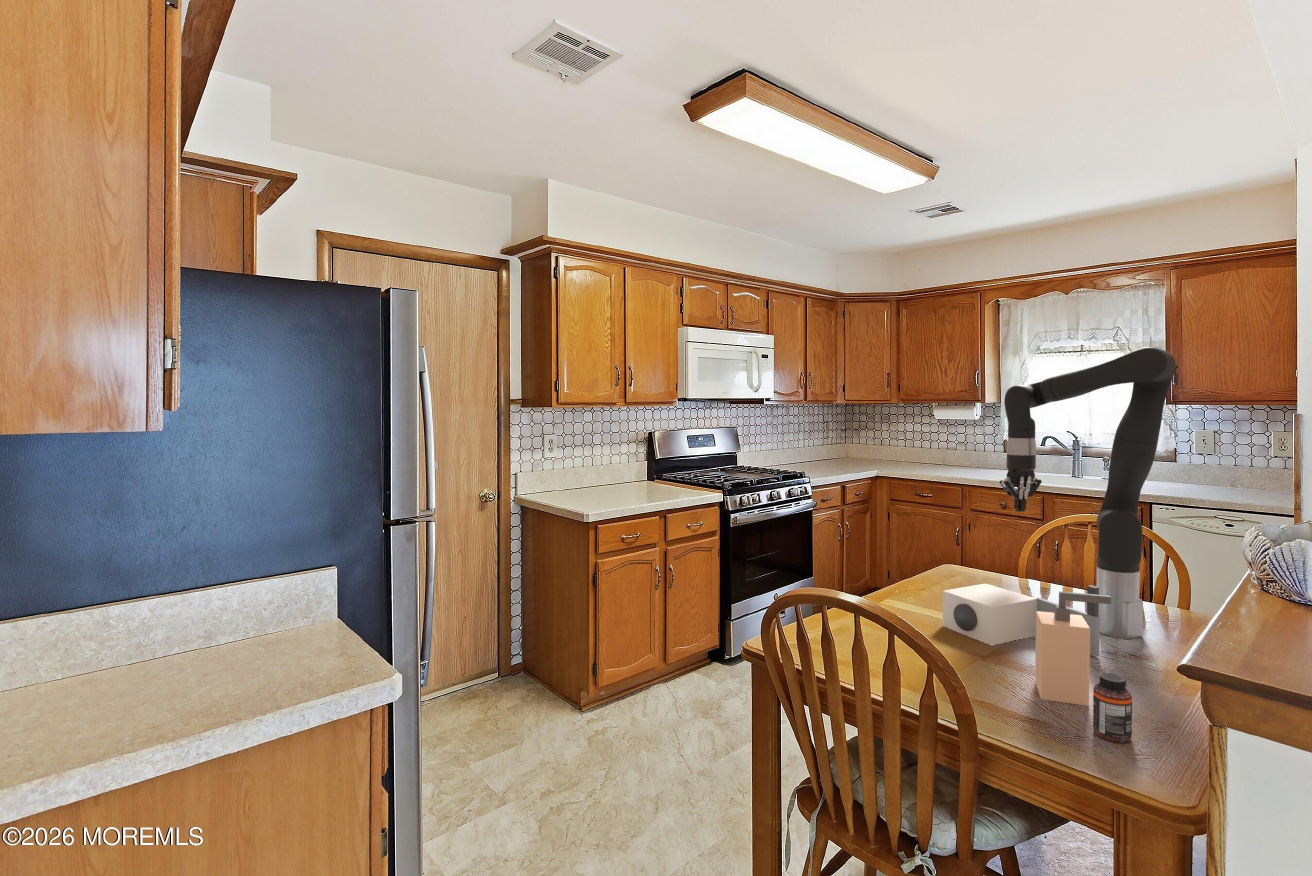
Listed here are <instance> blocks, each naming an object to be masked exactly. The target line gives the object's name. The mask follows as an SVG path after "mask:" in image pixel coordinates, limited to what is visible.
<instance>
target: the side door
mask: <svg viewBox="0 0 1312 876" xmlns="http://www.w3.org/2000/svg"><path fill="white" fill-rule="evenodd" d="M1086 590H1087V591H1086V594H1096V595H1099V587H1097V585H1096V586H1095V585H1087V589H1086ZM1036 599H1037V611H1041V612H1051V613H1054V605H1059V603H1057V602H1054V601H1050V600H1048V599H1044V598H1041V597H1036ZM1068 607H1069V606H1068ZM1069 609H1070V614H1072V615H1082V617H1083V618H1084V620H1085V621H1086V623H1087V624H1088V626H1089V627H1090V657H1091V656H1092V657H1094V658H1098V657H1100V632H1099V624H1100V617H1099V603H1090V602H1086V611H1082V610H1079V609H1077V608H1073V607H1069Z"/></svg>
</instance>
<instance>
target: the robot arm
mask: <svg viewBox="0 0 1312 876" xmlns="http://www.w3.org/2000/svg"><path fill="white" fill-rule="evenodd" d="M1176 369H1177V363H1176V359H1175V357H1174V356H1173V354H1172V353H1170V352H1169V351H1168V350H1165V349H1162V348H1158V347H1155V346H1144V347H1141V348H1138V349H1136V350H1132V351H1131V352H1129V353H1127V354H1124V355H1121V356H1118V357H1117V358H1114V359H1112V360H1109V361H1106V362H1103V363H1100V364H1097V365H1094V366H1090V367H1086V368H1083V369H1078V370H1075V371H1069V372H1066V373H1061V374H1059V375H1058V374H1057V375H1055V376H1051V377H1047V378H1044V379H1043V380H1042V381H1039V382H1035V383H1034V382H1033V383H1030V384H1023V385H1022V384H1017V385H1013V386H1011V387H1009V388H1008V389H1007V391H1006V393H1005V395H1004V402H1003V403H1004V408H1005V409H1004V410H1005V413H1006V419H1007V423H1008V424H1007V442H1006V468H1007V473H1006V478H1004V479H1003V480H1002V479H1001V480H999V484H1000V486H1001V487H1002V489H1003V490H1004V491H1005V493H1006V494H1007V496H1008V497H1011V498H1013V499H1014V500H1013V501H1014V503H1013V505H1014V506H1013V508H1014V510H1015V512H1019V513H1023V512H1026V509H1027V500H1028V498H1030V497H1031V498H1032V497H1033V496H1034V495H1035V493H1036V491H1037V490H1038V488H1039V487H1040V486H1041V484H1042V482H1043V481H1042V480H1041V479H1038V478H1037V477H1036V473H1035V471H1034V470H1035V469H1037V468H1036V466H1037V443H1036V442H1037V441H1036V421H1035V419H1034V418H1032V417H1031V409H1032V408H1037V407H1040V406H1044V405H1047V404H1050V403H1053V402H1054V403H1055V402H1060V401H1064V400H1068V399H1074V398H1077V397H1081V396H1084V395H1086V394H1090V393H1091V392H1094V391H1097V390H1099V389H1100V390H1101V389H1102V388H1107V387H1111V386H1114V385H1122V384H1131V383H1133V385H1132V392H1131V399H1130V402H1129V404H1128V407H1127V408H1126V410H1125V412H1124V414H1123V416H1122V418H1121V420H1120V421H1119V424H1118V425H1117V428H1116V431H1115V433H1114V438H1113V442H1112V446H1111V454H1110V460H1109V461H1110V462H1109V467H1108V468H1109V469H1108V480H1107V486H1106V491H1105V493H1104V497H1103V501H1102V503H1101V507H1100V508H1099V509H1100V510H1099V512H1098V515H1097V518H1096V527H1097V530H1098V545H1097V546H1098V552H1097V556H1096V587H1099V595H1108V596H1110V597H1111V604H1101V603H1099V617H1100V624H1099V634H1100V633H1101V634H1103V635H1107V636H1110V637H1115V638H1120V639H1125V640H1131V639H1135V638H1139V637H1142V636H1143V627H1144V626H1143V621H1144V620H1143V618H1144V612H1143V611H1144V602H1143V599H1141V598H1140V577H1141V576H1140V573H1141V572H1140V569H1141V567H1140V566H1141V562H1142V556H1143V555H1142V554H1143V553H1142V552H1143V551H1142V550H1143V525H1142V522H1141V521H1140V519H1139V518H1138V515H1139V514H1138V513H1139V503H1140V496H1141V491H1142V489H1143V487H1144V484H1145V481H1146V480H1147V478H1148V476H1149V473H1150V471H1151V470H1152V468H1153V467H1152V466H1153V465H1154V461H1155V458H1156V453H1157V448H1158V443H1159V437H1160V432H1161V427H1162V420H1163V413H1164V407H1165V402H1166V399H1167V395H1168V393H1169V389H1170V387H1171V384H1172V381H1173V379H1174V376H1175V372H1176Z"/></svg>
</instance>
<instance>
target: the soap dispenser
mask: <svg viewBox="0 0 1312 876" xmlns="http://www.w3.org/2000/svg"><path fill="white" fill-rule="evenodd" d="M1066 601H1069V602H1081V603H1087V602H1090V603H1101V604H1111V597H1110V596H1108V595H1096V594H1087V593H1082V592H1081V593H1080V592H1072V591H1071V592H1070V591H1069V592H1068V591H1058V604H1059V605H1054V613H1051V612H1041V611H1036V636H1035V673H1034V674H1035V675H1034V676H1035V681H1034V682H1035V686H1036V690H1037V693H1038V694H1039V698H1040V700H1041V701H1042V700H1043V701H1048V702H1049V701H1050V702H1056V703H1057V702H1058V703H1063V704H1064V703H1065V704H1071V705H1078V706H1079V705H1080V706H1084V707H1085V706H1087V707H1089V706H1090V671H1091V670H1090V669H1091V666H1090V665H1091V663H1090V660H1091V655H1090V627H1089V626H1088V624H1087V623H1086V621H1085V620H1084V618H1083V617H1082V615H1072V614H1070V609H1069V606H1067V602H1066Z"/></svg>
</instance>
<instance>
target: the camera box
mask: <svg viewBox="0 0 1312 876" xmlns="http://www.w3.org/2000/svg"><path fill="white" fill-rule="evenodd" d="M1036 611H1037V597H1036V598H1035V597H1032V596H1028V595H1026V594H1022V593H1019V592H1015V591H1012V590H1009V589H1005V588H1002V587H1000V586H999V587H998V586H995V585H992V584H989V583H987V582H986V583H981V584H975V585H970V586H969V585H968V586H963V587H956V588H951V589H945V590H942V627H943V628H946V627H947V628H946V629H948V630H951V631H954V632H956V633H959V634H962V635H964V636H966V635H967V636H966V637H968V638H970V639H974V640H976V639H977V641H978V640H979V642H981V643H983V642H984V644H986V645H988V646H991V647H993V646H996V645H997V644H998V645H1002V644H1006V643H1005V642H1007V643H1010V642H1009V641H1012V642H1014V641H1013V640H1016V641H1019V640H1018V639H1021V640H1024V639H1023V638H1025V639H1029V637H1030V638H1033V637H1032V636H1035V637H1036ZM1001 643H1002V644H1001ZM998 645H997V646H998Z"/></svg>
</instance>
